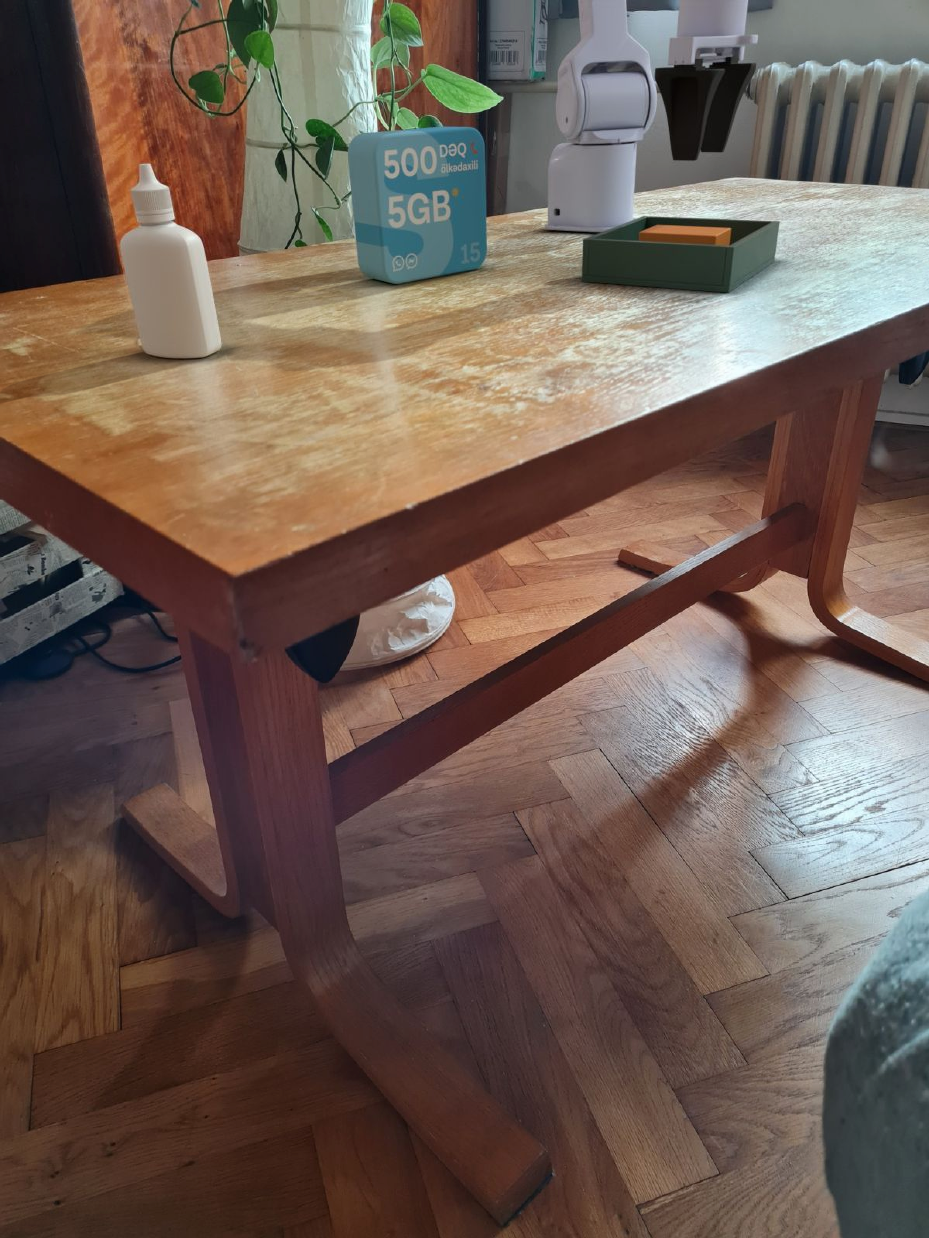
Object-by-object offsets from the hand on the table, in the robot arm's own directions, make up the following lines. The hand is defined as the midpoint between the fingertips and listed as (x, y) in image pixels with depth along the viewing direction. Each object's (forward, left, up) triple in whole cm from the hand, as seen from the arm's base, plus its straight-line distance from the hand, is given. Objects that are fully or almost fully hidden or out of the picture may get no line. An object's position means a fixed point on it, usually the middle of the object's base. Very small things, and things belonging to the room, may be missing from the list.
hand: (699, 156), depth 82 cm
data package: (-20, -16, -9) cm, 28 cm away
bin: (+2, -7, -9) cm, 11 cm away
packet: (+2, -7, -8) cm, 11 cm away
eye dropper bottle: (-21, -46, -9) cm, 52 cm away
